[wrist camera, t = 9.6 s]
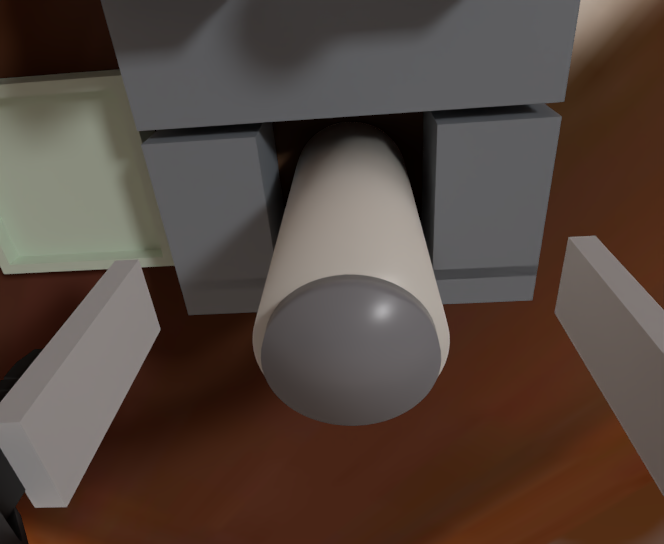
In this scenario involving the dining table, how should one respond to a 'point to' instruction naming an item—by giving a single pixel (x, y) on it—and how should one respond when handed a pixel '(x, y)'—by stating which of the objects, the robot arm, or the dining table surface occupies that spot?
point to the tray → (74, 177)
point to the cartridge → (351, 286)
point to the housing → (344, 101)
